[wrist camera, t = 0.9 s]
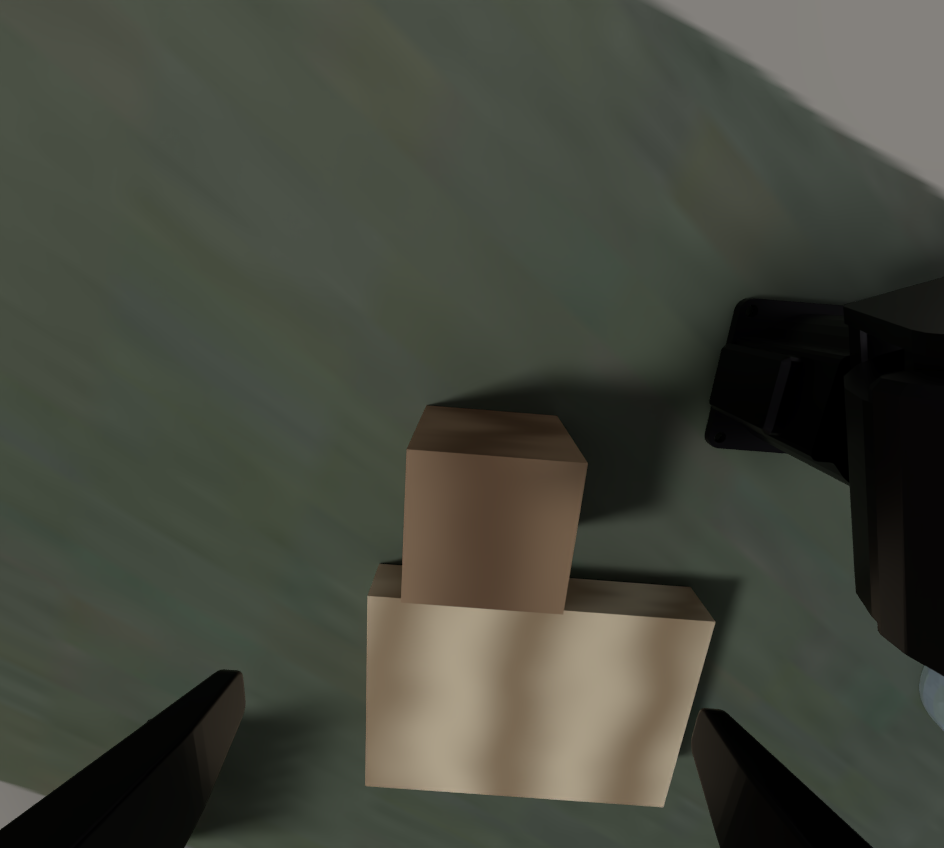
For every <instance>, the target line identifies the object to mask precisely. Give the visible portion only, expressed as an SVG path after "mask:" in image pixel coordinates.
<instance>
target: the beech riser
mask: <svg viewBox="0 0 944 848" xmlns="http://www.w3.org/2000/svg"><path fill="white" fill-rule="evenodd" d="M401 585H402V565H389V564H379V566H378V569H377V571H376V574H375V577H374V580H373V582H372V585H371V588H370V591H369V593H368V603H367V688H366V774H365V786H372V787H386V788H400V789H415V790H429V791H443V792H457V793H471V794H485V795H499V796H513V797H527V798H541V799H555V800H570V801H584V802H598V803H612V804H626V805H640V806H654V807H664V803H665V800H666V796H667V792H668V789H669V785H670V782H671V778H672V775H673V771H674V768H675V764H676V760H677V757H678V753H679V750H680V746H681V743H682V739H683V736H684V732H685V729H686V725H687V721H688V718H689V714H690V711H691V707H692V704H693V700H694V697H695V693H696V689H697V686H698V682H699V679H700V675H701V672H702V668H703V665H704V661H705V658H706V654H707V650H708V647H709V643H710V640H711V636H712V633H713V629H714V626H715V620H714V619H713V618H712V616H711V615H710V613H709V612H708V611H707V609H706V608H705V606H704V605H703V604H702V602H701V601H700V600H699V598H698V597H697V595H696V594H695V593H694V591H693V590H692V588H691V587H682V586H668V585H655V584H642V583H628V582H615V581H602V580H589V579H575V578H569V582H568V588H567V594H566V601H565V607H564V613H563V615H561V614H548V613H534V612H521V611H507V610H494V609H480V608H467V607H453V606H440V605H426V604H413V603H401Z"/></svg>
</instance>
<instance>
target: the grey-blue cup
mask: <svg viewBox="0 0 944 848" xmlns="http://www.w3.org/2000/svg"><path fill="white" fill-rule="evenodd" d="M919 692H920V697H921V700H922V703H923V705H924V707H925V709H926V710H927V712H928V714H929V715H930V716H931V718H932V719H933V720H934V721H935V722H936V724H937V725H938V726H939V727H940V728H941V729H942V730H943V731H944V676H942V675H940V674H939V673H937V672H935V671H933V670H932V669H930V668H928V667H927V666H925V665H924V668H923V671H922V673H921V677H920V683H919Z"/></svg>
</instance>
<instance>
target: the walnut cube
mask: <svg viewBox="0 0 944 848" xmlns="http://www.w3.org/2000/svg"><path fill="white" fill-rule="evenodd" d="M587 466H588V463H587V461H586V460H585V458H584V456H583V455H582V453H581V452H580V450H579V449H578V447H577V446H576V444H575V443H574V441H573V439H572V438H571V436H570V435H569V433H568V432H567V430H566V429H565V427H564V425H563V424H562V422H561V421H560V419H559V418H558V416H554V415H541V414H529V413H516V412H504V411H491V410H479V409H466V408H453V407H441V406H428V405H427V406H426V408H425V410H424V412H423V414H422V417H421V419H420V421H419V423H418V425H417V428H416V430H415V432H414V434H413V437H412V439H411V441H410V443H409V445H408V448H407V456H406V482H405V508H404V533H403V559H402V585H401V603H413V604H426V605H440V606H453V607H467V608H480V609H494V610H507V611H521V612H534V613H548V614H561V615H563V613H564V607H565V601H566V594H567V588H568V582H569V576H570V570H571V564H572V558H573V552H574V546H575V539H576V533H577V527H578V521H579V515H580V509H581V503H582V497H583V491H584V484H585V478H586V472H587Z"/></svg>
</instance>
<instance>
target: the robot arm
mask: <svg viewBox="0 0 944 848" xmlns="http://www.w3.org/2000/svg"><path fill="white" fill-rule="evenodd" d="M750 305H751V307H752V313H751V315H749V316H748V317H747V315H746V309H747V307H748V306H750ZM709 403H710V405H711V410H710V414H709V418H708V423H707V427H706V431H705V440H706V442H707V443H709V444H710V445H711V446H713V447H716V448H723V449H736V450H749V451H762V452H775V453H787V454H789V455H791V456H793V457H795V458H797V459H799V460H801V461H803V462H805V463H807V464H808V465H810V466H812V467H814V468H816V469H818V470H820V471H822V472H824V473H826V474H828V475H830V476H831V477H833V478H835V479H837V480H839V481H841V482H843V483H845V484H847V485H849V486H850V500H851V518H852V536H853V554H854V572H855V586H856V593H857V595H858V596H859V598H860V599H861V601H862V602H863V604H864V605H865V607H866V608H867V610H868V612H869V613H870V615H871V616H872V617H873V618H874V619H875V620H876V621H877V622H878V631H879V633H880V634H881V635H882V636H883V637H884V638H886V639H887V640H888V641H889V642H891V643H892V644H893V645H894V646H896V647H897V648H898V649H899V650H901V651H902V652H903V653H905V654H906V655H907V656H909V657H911V658H913V659H914V660H916V661H918V662H920V663H921V664H923V665H925V666H927V667H928V668H930V669H932V670H933V671H935V672H937V673H939V674H940V675H942V676H944V277H942V278H939V279H935V280H931V281H928V282H924V283H921V284H917V285H913V286H910V287H906V288H903V289H899V290H895V291H892V292H888V293H885V294H881V295H877V296H874V297H870V298H867V299H863V300H859V301H856V302H852V303H849V304H846V305H844V306H841V305H828V304H816V303H804V302H791V301H779V300H767V299H752V298H749V299H744V300H742V301H740V302H739V303H738V304H737V305H736V307H735V310H734V314H733V318H732V322H731V326H730V330H729V335H728V339H727V343H726V345H725V346H724V347H723V348H722V350H721V354H720V358H719V362H718V367H717V371H716V375H715V379H714V384H713V388H712V392H711V396H710V401H709ZM719 432H721V437H720V438H719V439H718V440H715V438H714V437H715V435H716V434H717V433H719ZM244 710H245V691H244V681H243V675H242V673H241V672H240V671H238V670H225V669H223V670H219V671H217V672H215V673H214V674H212V675H211V676H210V677H208V678H207V679H206V680H204V681H203V682H202V683H200V684H199V685H197V686H196V687H195V688H193V689H192V690H191V691H189V692H188V693H186V694H185V695H184V696H182V697H181V698H180V699H178V700H177V701H176V702H174V703H173V704H171V705H170V706H169V707H167V708H166V709H165V710H163V711H162V712H161V713H159V714H158V715H156V716H155V717H154V718H152V719H151V720H150V721H148V722H147V723H145V724H144V725H143V726H141V727H140V728H139V729H137V730H136V731H135V732H133V733H132V734H130V735H129V736H128V737H126V738H125V739H124V740H122V741H121V742H120V743H118V744H117V745H115V746H114V747H113V748H111V749H110V750H109V751H107V752H106V753H104V754H103V755H102V756H100V757H99V758H98V759H96V760H95V761H94V762H92V763H91V764H89V765H88V766H87V767H85V768H84V769H83V770H81V771H80V772H78V773H77V774H76V775H74V776H73V777H72V778H70V779H69V780H68V781H66V782H65V783H63V784H62V785H61V786H59V787H58V788H57V789H55V790H54V791H53V792H51V793H50V794H48V795H47V796H46V797H44V798H43V799H42V800H40V801H39V802H38V803H36V804H35V805H33V806H32V807H31V808H29V809H28V810H27V811H25V812H24V813H22V814H21V815H20V816H19V817H17V818H16V819H14V820H13V821H12V822H10V823H9V824H8V825H6V826H5V827H3V828H2V829H1V830H0V848H184V847H185V845H186V843H187V842H188V840H189V838H190V836H191V834H192V832H193V830H194V828H195V826H196V824H197V822H198V820H199V818H200V816H201V814H202V812H203V810H204V808H205V806H206V803H207V801H208V799H209V796H210V794H211V792H212V789H213V787H214V785H215V782H216V780H217V777H218V775H219V773H220V770H221V768H222V765H223V763H224V760H225V758H226V756H227V753H228V751H229V748H230V746H231V744H232V741H233V739H234V736H235V734H236V731H237V729H238V727H239V724H240V722H241V719H242V717H243V714H244ZM691 749H692V754H693V757H694V761H695V764H696V767H697V771H698V774H699V778H700V781H701V785H702V788H703V792H704V795H705V798H706V802H707V805H708V809H709V812H710V816H711V819H712V823H713V826H714V829H715V833H716V836H717V839H718V843H719V846H720V848H873V847H872V846H871V845H870V844H869V843H867V842H866V841H865V840H864V839H863V838H862V837H861V836H860V835H859V834H858V833H857V832H856V831H854V830H853V829H852V828H851V827H850V826H849V825H848V824H847V823H846V822H845V821H844V820H843V819H841V818H840V817H839V816H838V815H837V814H836V813H835V812H834V811H833V810H832V809H831V808H830V807H828V806H827V805H826V804H825V803H824V802H823V801H822V800H821V799H820V798H819V797H818V796H817V795H815V794H814V793H813V792H812V791H811V790H810V789H809V788H808V787H807V786H806V785H805V784H804V783H802V782H801V781H800V780H799V779H798V778H797V777H796V776H795V775H794V774H793V773H792V772H790V771H789V770H788V769H787V768H786V767H785V766H784V765H783V764H782V763H781V762H780V761H779V760H777V759H776V758H775V757H774V756H773V755H772V754H771V753H770V752H769V751H768V750H767V749H766V748H764V747H763V746H762V745H761V744H760V743H759V742H758V741H757V740H756V739H755V738H754V737H753V736H751V735H750V734H749V733H748V732H747V731H746V730H745V729H744V728H743V727H742V726H741V725H740V724H738V723H737V722H736V721H735V720H734V719H733V718H732V717H731V716H730V715H729V714H728V713H726V712H725V711H723V710H720V709H710V708H702V709H701V710H700V711H699V713H698V716H697V720H696V723H695V727H694V730H693V734H692V738H691Z"/></svg>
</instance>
